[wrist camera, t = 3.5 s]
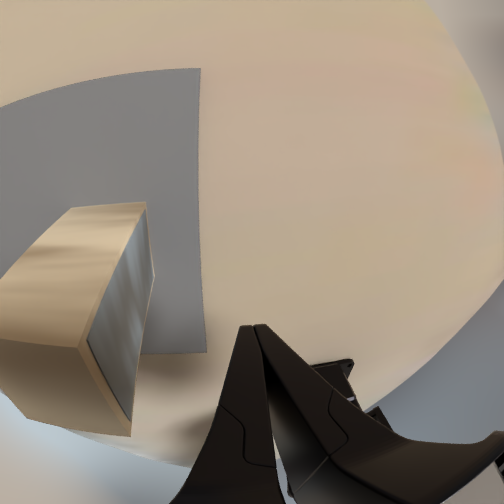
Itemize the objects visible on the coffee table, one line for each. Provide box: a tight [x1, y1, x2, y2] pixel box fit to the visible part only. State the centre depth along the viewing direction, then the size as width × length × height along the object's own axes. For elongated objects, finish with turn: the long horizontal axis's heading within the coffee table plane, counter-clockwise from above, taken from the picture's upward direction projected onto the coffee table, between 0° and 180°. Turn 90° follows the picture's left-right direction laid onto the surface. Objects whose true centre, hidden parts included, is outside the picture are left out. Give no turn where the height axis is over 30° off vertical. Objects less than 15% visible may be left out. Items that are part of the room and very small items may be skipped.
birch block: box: [0, 202, 155, 437], centre depth 10 cm, size 4×5×10 cm
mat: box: [0, 68, 207, 354], centre depth 14 cm, size 18×20×1 cm
